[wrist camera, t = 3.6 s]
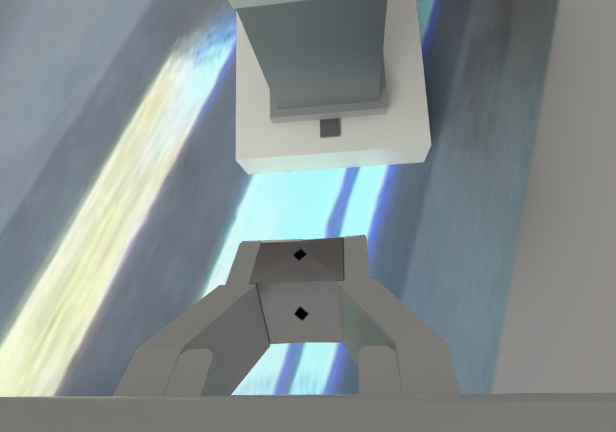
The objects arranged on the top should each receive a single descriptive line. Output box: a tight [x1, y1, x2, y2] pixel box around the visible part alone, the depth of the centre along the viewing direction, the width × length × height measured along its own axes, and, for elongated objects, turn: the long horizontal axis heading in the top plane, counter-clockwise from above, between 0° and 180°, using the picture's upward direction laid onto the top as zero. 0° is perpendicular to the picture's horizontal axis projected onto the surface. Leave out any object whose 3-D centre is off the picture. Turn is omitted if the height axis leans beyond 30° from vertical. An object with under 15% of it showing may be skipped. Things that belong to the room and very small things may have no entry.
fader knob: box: [229, 0, 388, 124], centre depth 21 cm, size 4×7×10 cm, turn 92°
